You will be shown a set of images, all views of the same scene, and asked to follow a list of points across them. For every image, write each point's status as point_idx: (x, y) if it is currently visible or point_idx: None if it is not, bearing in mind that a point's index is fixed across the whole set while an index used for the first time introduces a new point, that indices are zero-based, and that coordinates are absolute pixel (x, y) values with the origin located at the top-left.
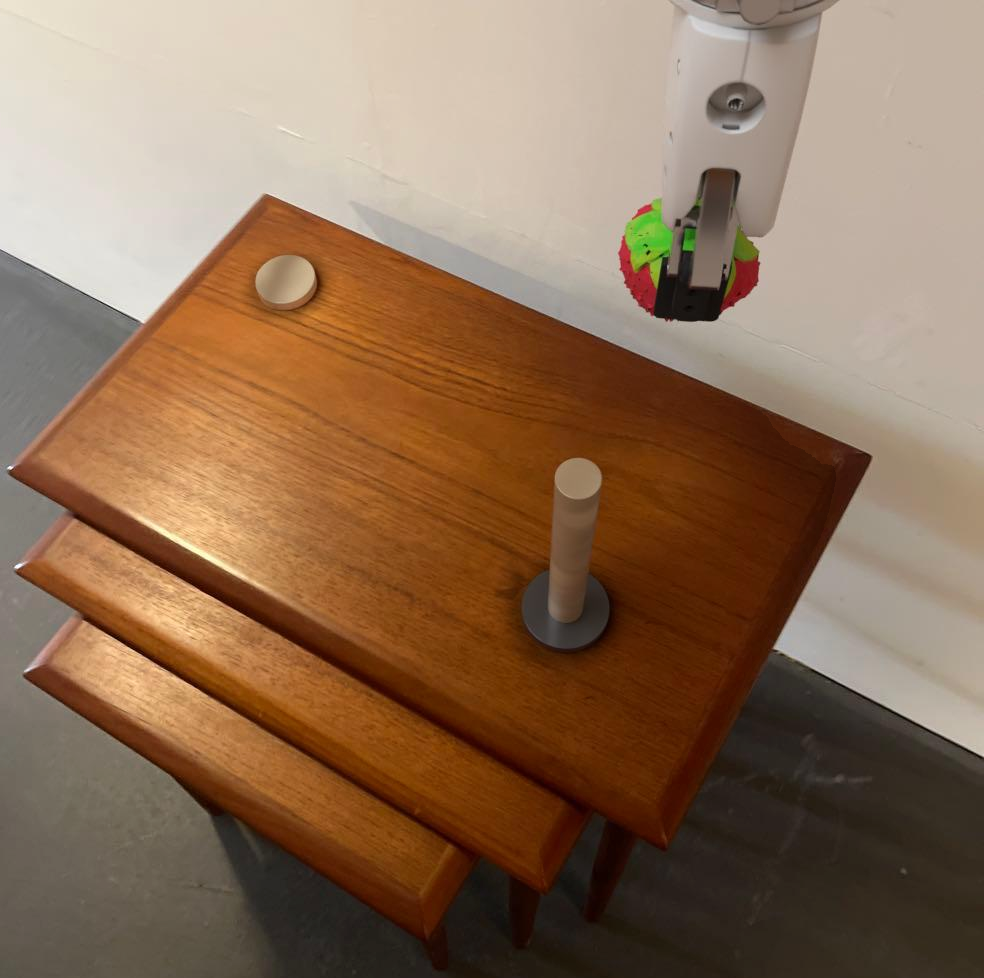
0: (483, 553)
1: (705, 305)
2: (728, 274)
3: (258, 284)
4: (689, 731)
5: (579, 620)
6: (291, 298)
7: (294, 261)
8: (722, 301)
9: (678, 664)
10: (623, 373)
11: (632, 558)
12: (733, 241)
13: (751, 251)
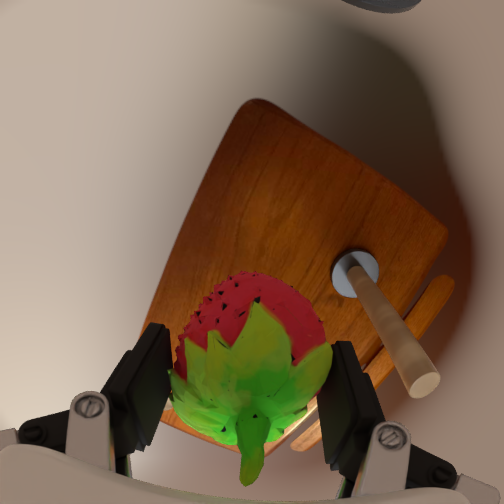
0: (316, 314)
1: (374, 392)
2: (409, 437)
3: (164, 409)
4: (418, 208)
5: (364, 267)
6: (169, 399)
7: None
8: (358, 364)
9: (386, 210)
10: (188, 236)
11: (323, 233)
12: (403, 484)
13: (271, 331)
